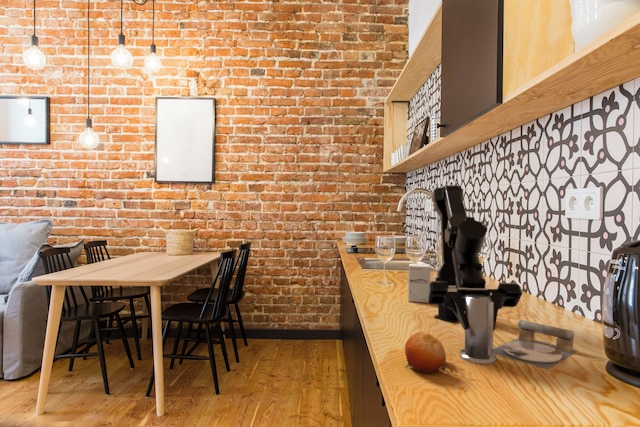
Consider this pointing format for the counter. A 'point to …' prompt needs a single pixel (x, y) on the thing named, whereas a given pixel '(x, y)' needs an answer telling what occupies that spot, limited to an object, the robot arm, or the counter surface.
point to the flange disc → (532, 352)
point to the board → (564, 355)
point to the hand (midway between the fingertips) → (479, 329)
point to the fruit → (424, 353)
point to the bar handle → (562, 342)
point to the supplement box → (418, 282)
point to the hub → (478, 330)
